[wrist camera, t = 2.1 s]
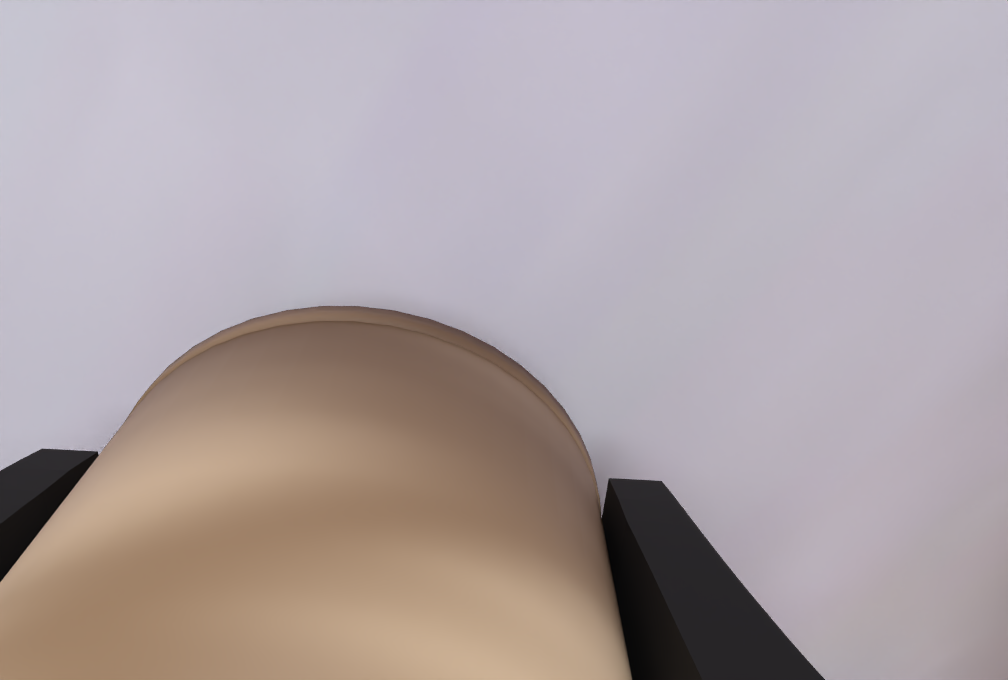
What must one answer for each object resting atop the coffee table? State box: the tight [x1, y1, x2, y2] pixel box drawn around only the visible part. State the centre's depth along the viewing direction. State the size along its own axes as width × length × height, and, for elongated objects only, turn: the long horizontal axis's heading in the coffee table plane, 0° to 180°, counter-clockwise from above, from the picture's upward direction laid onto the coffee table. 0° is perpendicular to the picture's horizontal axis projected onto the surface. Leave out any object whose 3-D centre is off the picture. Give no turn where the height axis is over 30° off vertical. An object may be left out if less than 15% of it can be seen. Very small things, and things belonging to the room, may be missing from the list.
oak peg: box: [0, 306, 632, 680], centre depth 7 cm, size 6×6×7 cm
